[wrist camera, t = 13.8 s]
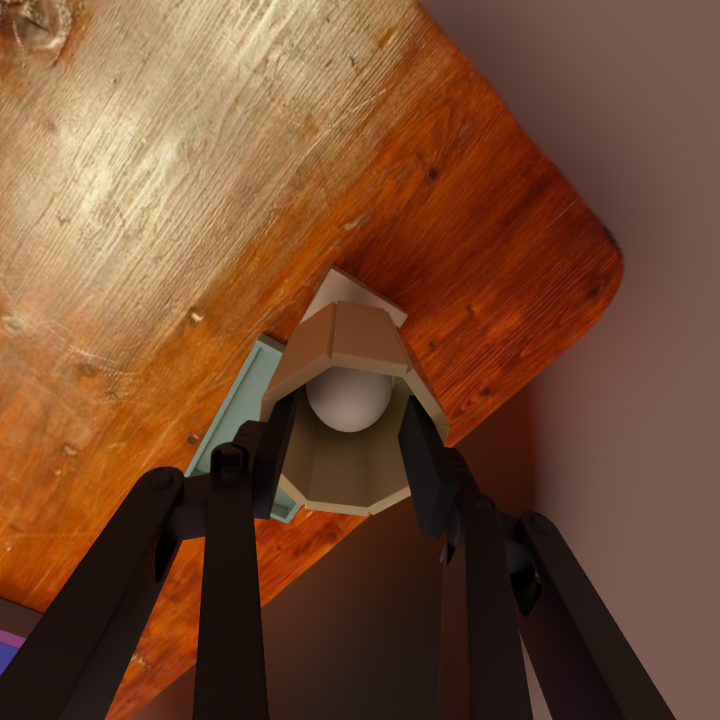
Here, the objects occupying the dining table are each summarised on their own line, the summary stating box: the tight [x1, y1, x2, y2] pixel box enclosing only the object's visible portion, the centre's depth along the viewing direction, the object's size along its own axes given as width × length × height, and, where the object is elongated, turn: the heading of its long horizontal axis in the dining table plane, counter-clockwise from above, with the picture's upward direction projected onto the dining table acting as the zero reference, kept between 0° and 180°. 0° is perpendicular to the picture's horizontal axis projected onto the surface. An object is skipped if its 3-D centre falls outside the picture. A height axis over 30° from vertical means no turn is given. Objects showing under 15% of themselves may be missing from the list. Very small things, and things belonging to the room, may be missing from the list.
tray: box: [184, 333, 300, 524], centre depth 38 cm, size 19×13×2 cm
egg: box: [306, 366, 392, 432], centre depth 21 cm, size 5×5×7 cm
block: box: [297, 264, 408, 329], centre depth 33 cm, size 8×8×3 cm
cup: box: [259, 300, 450, 516], centre depth 20 cm, size 8×8×10 cm
